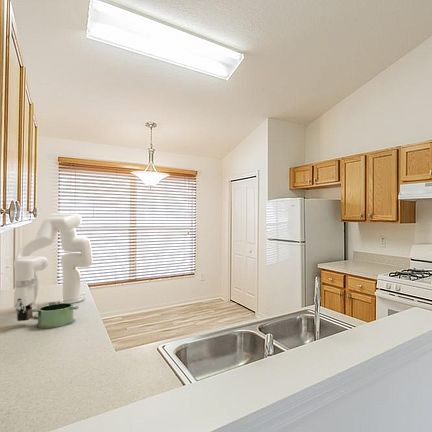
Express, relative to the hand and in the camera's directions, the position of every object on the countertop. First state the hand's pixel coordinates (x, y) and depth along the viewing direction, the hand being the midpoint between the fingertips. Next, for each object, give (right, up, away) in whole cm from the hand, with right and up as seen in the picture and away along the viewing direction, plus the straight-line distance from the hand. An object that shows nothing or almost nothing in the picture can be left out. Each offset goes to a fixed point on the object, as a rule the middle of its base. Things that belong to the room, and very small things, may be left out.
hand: (25, 318), depth 162 cm
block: (0, 0, 0) cm, 0 cm away
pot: (+14, -4, +3) cm, 14 cm away
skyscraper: (-19, -4, +27) cm, 33 cm away
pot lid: (+1, -3, +17) cm, 18 cm away
